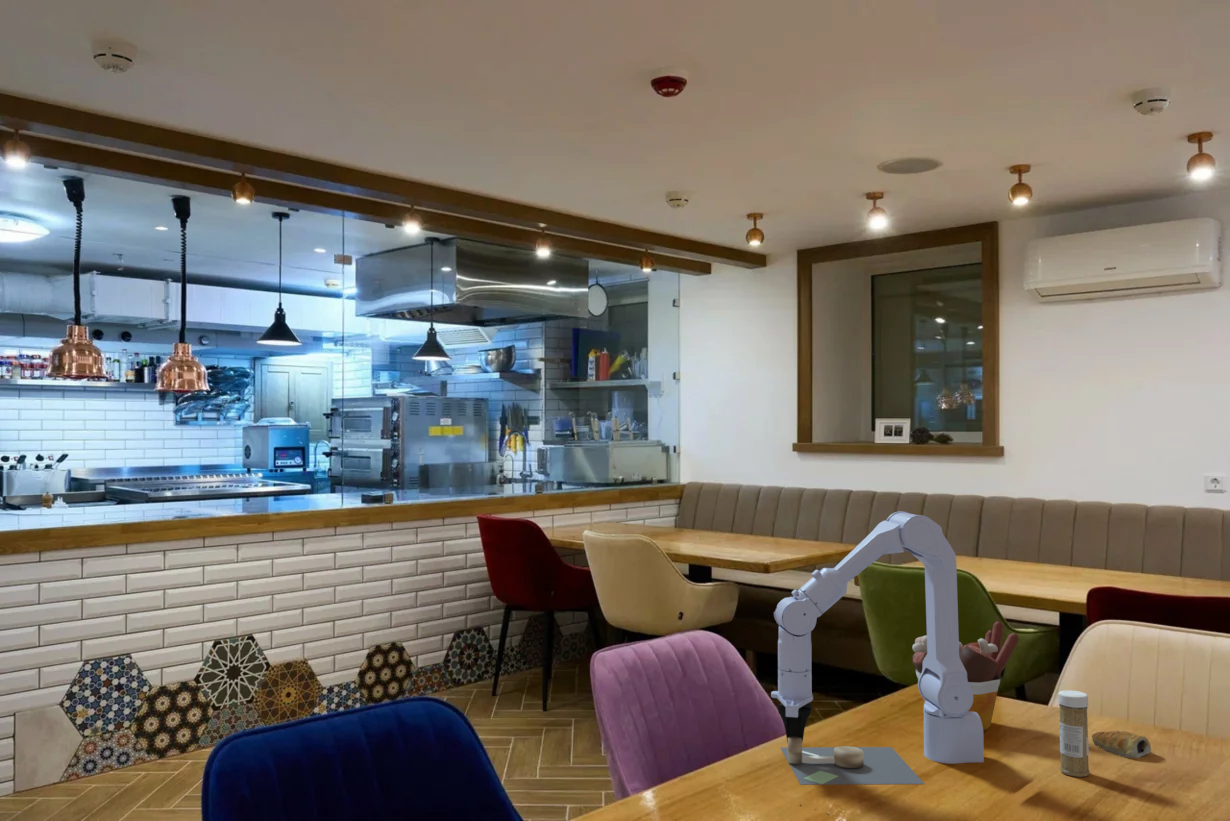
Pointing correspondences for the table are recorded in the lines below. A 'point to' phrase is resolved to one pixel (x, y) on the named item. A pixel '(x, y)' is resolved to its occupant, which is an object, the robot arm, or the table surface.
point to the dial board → (877, 768)
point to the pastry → (1122, 743)
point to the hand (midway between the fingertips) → (794, 747)
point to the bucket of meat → (978, 667)
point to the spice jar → (1074, 733)
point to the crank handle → (841, 756)
